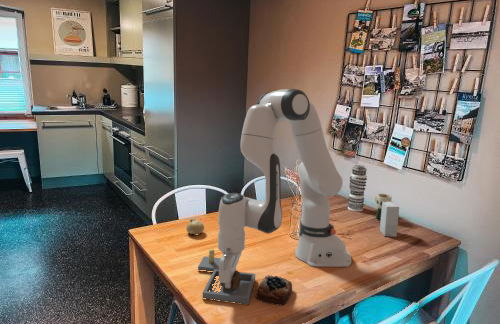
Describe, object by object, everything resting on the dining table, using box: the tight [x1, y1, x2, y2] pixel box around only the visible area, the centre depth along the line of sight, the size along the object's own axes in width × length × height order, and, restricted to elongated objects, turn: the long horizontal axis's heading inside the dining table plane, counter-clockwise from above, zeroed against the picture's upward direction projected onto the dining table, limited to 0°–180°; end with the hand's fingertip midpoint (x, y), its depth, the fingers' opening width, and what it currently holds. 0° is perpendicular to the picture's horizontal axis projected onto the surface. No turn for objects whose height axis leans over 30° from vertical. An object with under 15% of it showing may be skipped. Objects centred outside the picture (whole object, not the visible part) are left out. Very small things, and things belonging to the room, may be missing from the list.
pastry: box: [255, 274, 293, 306], centre depth 120 cm, size 11×12×6 cm
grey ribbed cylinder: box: [347, 164, 368, 212], centre depth 203 cm, size 9×9×25 cm
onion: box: [186, 218, 205, 235], centre depth 165 cm, size 8×8×7 cm
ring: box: [220, 269, 241, 289], centre depth 121 cm, size 6×6×4 cm
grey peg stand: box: [197, 248, 221, 271], centre depth 135 cm, size 8×8×7 cm
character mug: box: [374, 193, 393, 221], centre depth 190 cm, size 11×7×13 cm, turn 31°
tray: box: [202, 269, 256, 305], centre depth 122 cm, size 15×15×2 cm
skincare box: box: [379, 201, 400, 238], centre depth 171 cm, size 8×6×15 cm
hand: (230, 280), depth 122 cm, fingers closed on ring, 6 cm apart
